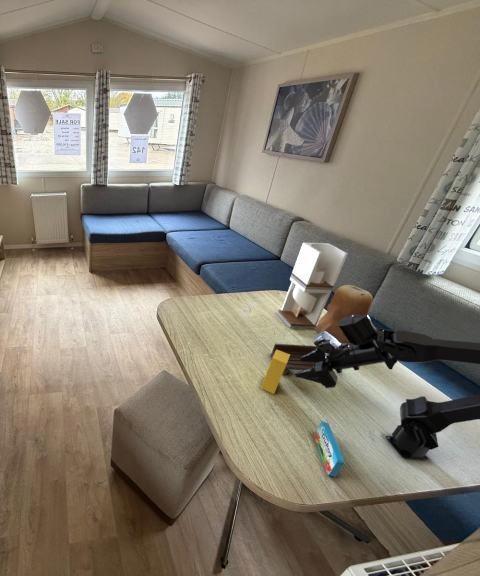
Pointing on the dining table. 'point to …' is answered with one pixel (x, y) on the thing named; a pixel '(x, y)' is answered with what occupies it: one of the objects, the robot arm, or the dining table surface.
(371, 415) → the dining table surface
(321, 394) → the dining table surface
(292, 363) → the rack
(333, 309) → the butternut squash
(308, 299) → the white cubby shelf
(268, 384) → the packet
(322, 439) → the blue food box
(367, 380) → the dining table surface
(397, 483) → the dining table surface
